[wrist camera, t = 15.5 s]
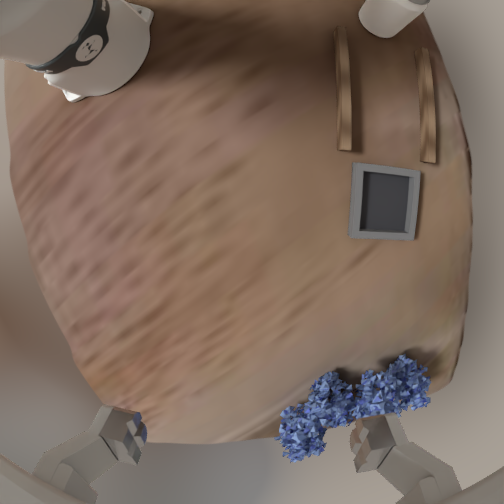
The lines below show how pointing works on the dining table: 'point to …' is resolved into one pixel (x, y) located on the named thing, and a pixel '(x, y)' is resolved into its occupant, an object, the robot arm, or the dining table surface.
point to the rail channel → (345, 98)
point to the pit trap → (383, 202)
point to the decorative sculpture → (351, 404)
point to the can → (389, 15)
